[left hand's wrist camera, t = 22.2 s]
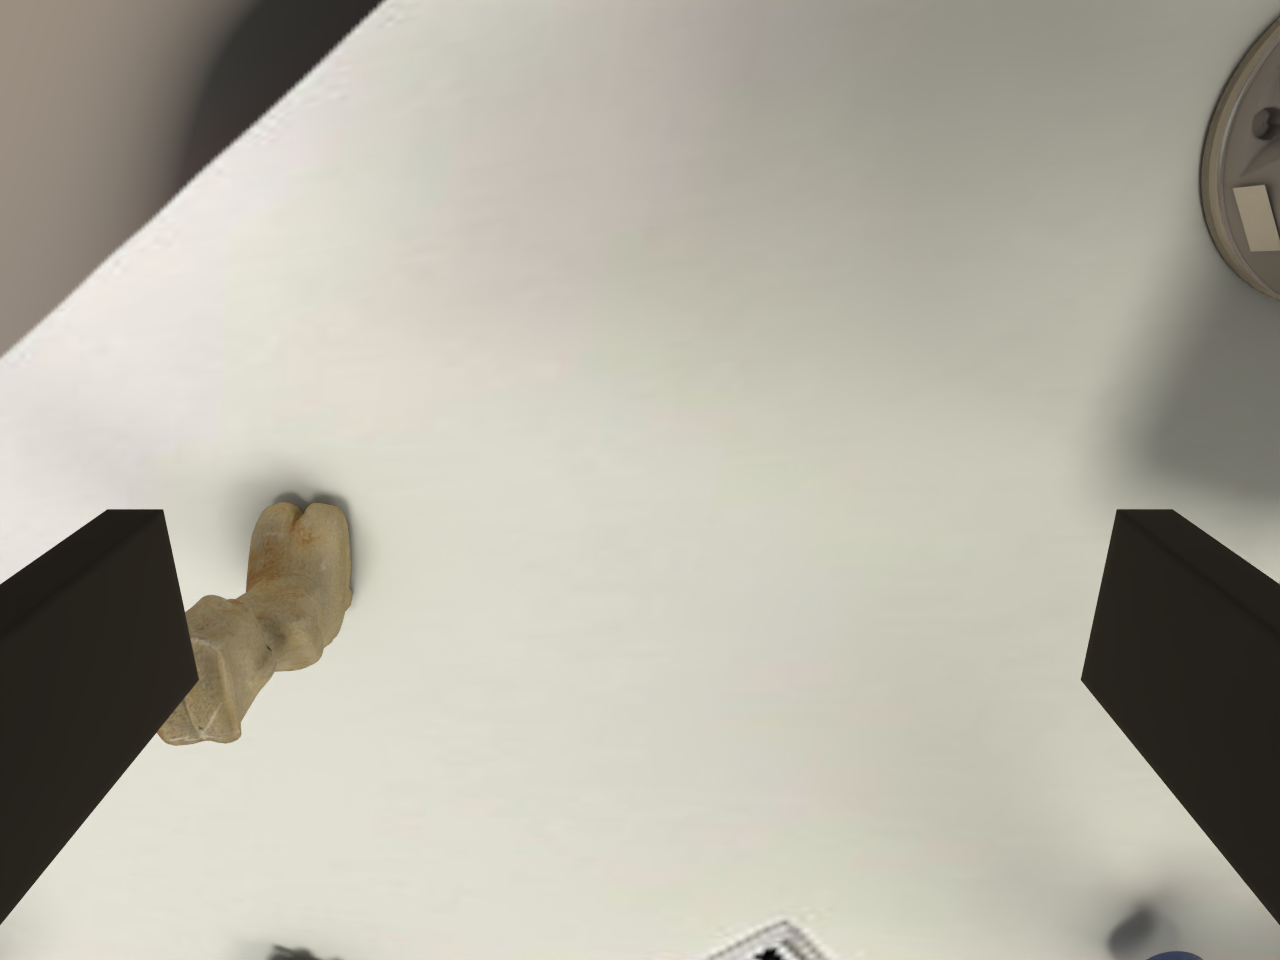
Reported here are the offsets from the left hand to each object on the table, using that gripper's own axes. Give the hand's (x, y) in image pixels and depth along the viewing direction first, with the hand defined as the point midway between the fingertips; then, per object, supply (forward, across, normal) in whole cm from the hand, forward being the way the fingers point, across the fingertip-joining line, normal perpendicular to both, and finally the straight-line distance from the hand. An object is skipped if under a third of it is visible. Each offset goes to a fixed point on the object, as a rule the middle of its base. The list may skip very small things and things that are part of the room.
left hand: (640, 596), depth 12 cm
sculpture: (+33, -18, -16) cm, 41 cm away
